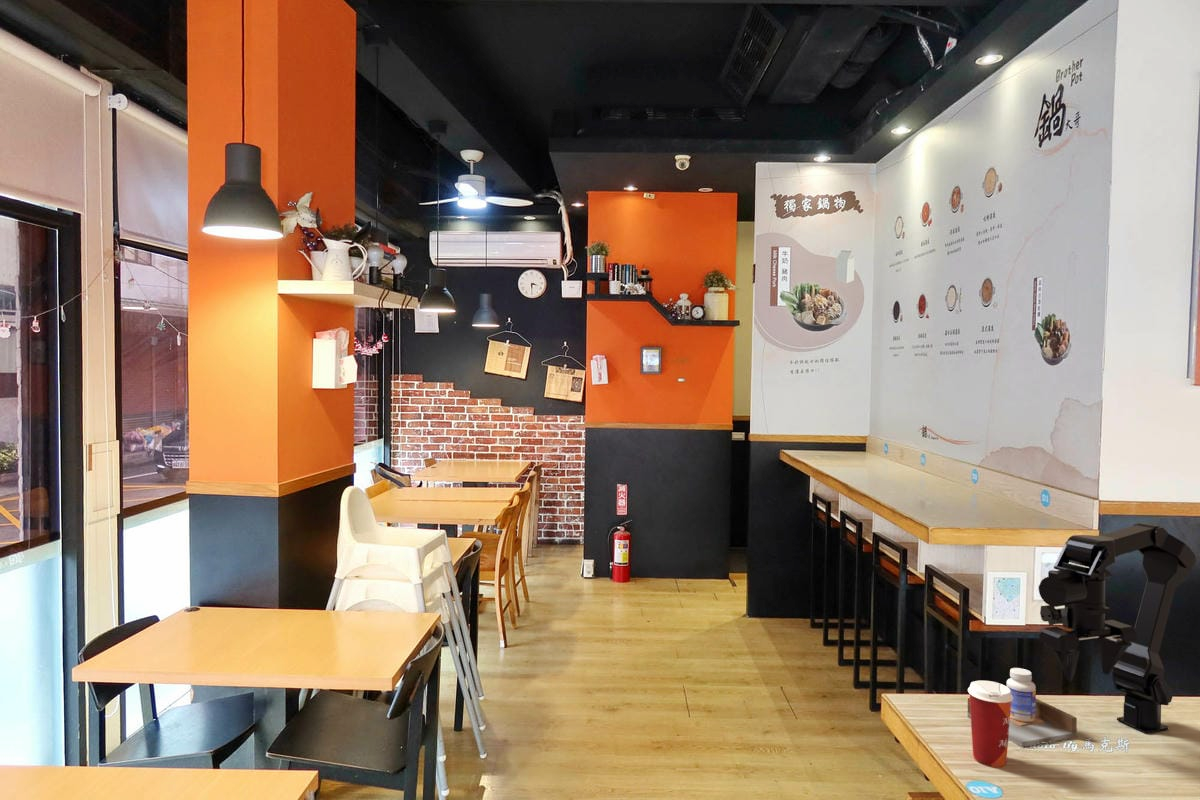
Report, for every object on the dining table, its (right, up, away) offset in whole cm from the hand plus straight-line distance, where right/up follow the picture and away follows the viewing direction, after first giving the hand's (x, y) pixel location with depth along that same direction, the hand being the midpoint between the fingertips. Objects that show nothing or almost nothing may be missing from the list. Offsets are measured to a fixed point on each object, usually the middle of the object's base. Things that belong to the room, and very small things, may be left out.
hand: (1087, 676), depth 149 cm
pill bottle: (-9, -12, +8) cm, 17 cm away
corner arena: (-10, -13, +6) cm, 17 cm away
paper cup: (-24, -13, -8) cm, 28 cm away
